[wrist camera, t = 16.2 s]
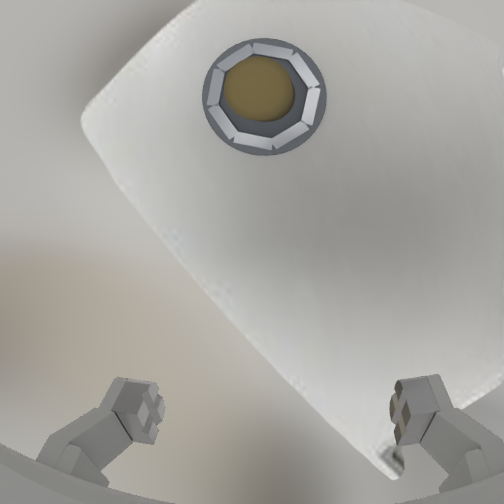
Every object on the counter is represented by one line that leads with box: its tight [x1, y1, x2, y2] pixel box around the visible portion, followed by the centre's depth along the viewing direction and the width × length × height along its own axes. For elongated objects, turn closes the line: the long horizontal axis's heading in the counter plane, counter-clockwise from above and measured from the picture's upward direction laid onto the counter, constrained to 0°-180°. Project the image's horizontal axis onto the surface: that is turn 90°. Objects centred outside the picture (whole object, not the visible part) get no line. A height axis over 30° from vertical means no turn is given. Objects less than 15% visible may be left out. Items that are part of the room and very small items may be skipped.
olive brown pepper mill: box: [224, 56, 295, 122], centre depth 26 cm, size 6×6×11 cm
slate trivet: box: [202, 38, 326, 156], centre depth 31 cm, size 13×13×2 cm
